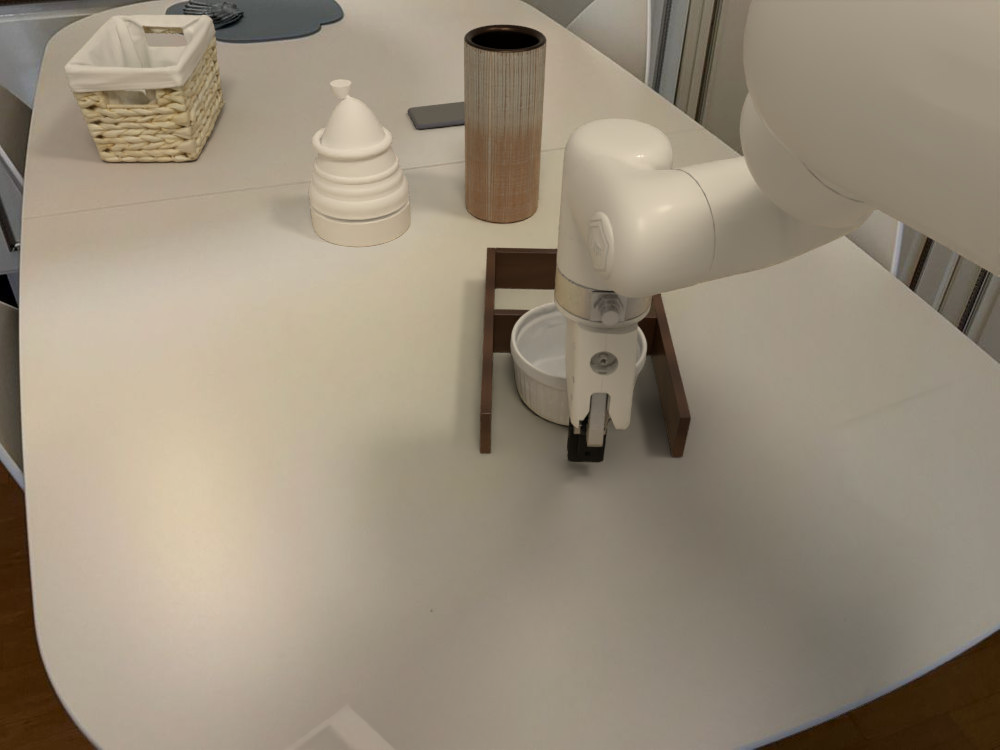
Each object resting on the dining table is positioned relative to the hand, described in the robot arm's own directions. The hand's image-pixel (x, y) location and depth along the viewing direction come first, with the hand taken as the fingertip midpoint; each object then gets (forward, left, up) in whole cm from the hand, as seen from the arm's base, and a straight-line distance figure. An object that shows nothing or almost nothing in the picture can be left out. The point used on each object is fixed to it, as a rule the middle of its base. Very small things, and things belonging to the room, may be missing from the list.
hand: (584, 455), depth 77 cm
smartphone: (+46, -68, -2) cm, 82 cm away
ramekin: (+4, -10, -2) cm, 11 cm away
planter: (+27, -43, -2) cm, 51 cm away
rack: (+6, -15, -2) cm, 17 cm away
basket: (+84, -42, -2) cm, 94 cm away
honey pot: (+42, -31, -2) cm, 52 cm away
